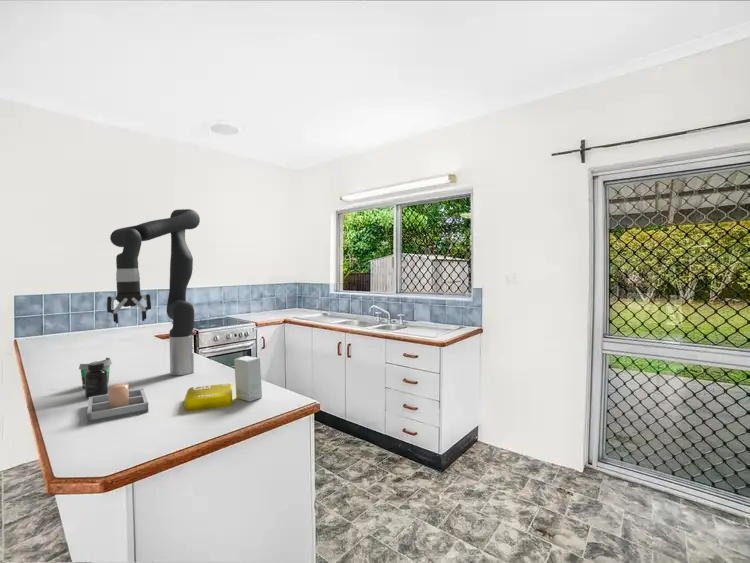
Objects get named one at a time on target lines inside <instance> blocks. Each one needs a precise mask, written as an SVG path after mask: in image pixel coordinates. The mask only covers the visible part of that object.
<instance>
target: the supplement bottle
mask: <svg viewBox="0 0 750 563" xmlns="http://www.w3.org/2000/svg"><path fill="white" fill-rule="evenodd" d="M91 363H92V362H91ZM88 364H89V365H88V370H89V371H88V372H87V373H86V374H85V388H84V391H85V392H84V394H85V397H86V398H87V399H89V397H93V396H99V395H106V394H108V387H109V385H108V384H109V382H108V377H107V371H106V370H105V369H103V368H104V363H102V362H99V363H92V364H90V363H88Z"/></svg>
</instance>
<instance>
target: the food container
mask: <svg viewBox="0 0 750 563" xmlns="http://www.w3.org/2000/svg"><path fill="white" fill-rule="evenodd" d="M99 362H102V363H104V368H103V369H105V370H106V371H107V377H108V383H109V380H110V367H111V365H113V362H112V359H111V358H110V357H105V359H104V360H99V361H92V362H90V363H79V367H78V370H80V375H81V384H82V388H83V389H85V374H86V373H87V372H88V371H89V370H88V365H89V364H92V363H99Z"/></svg>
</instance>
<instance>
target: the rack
mask: <svg viewBox="0 0 750 563" xmlns="http://www.w3.org/2000/svg"><path fill="white" fill-rule="evenodd" d="M87 401H88V403H87V411H86V413H87V414H86V416H87V417H86V419H87V421H86V422H87V423H86V424H87V425H89V424H92V423H94V424H95V423H97V422H105V421H109V420H114V419H119V418H124V417H129V416H134V415H139V414H144V413H149V401H148V399H147V396H146V393H145V389H144V388H139V389H138V388H137V389H132V390H129V406H124V407H118V408H113V409H109V395H108V393H107V394H106V395H99V396H93V397H89V398H88V400H87Z"/></svg>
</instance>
